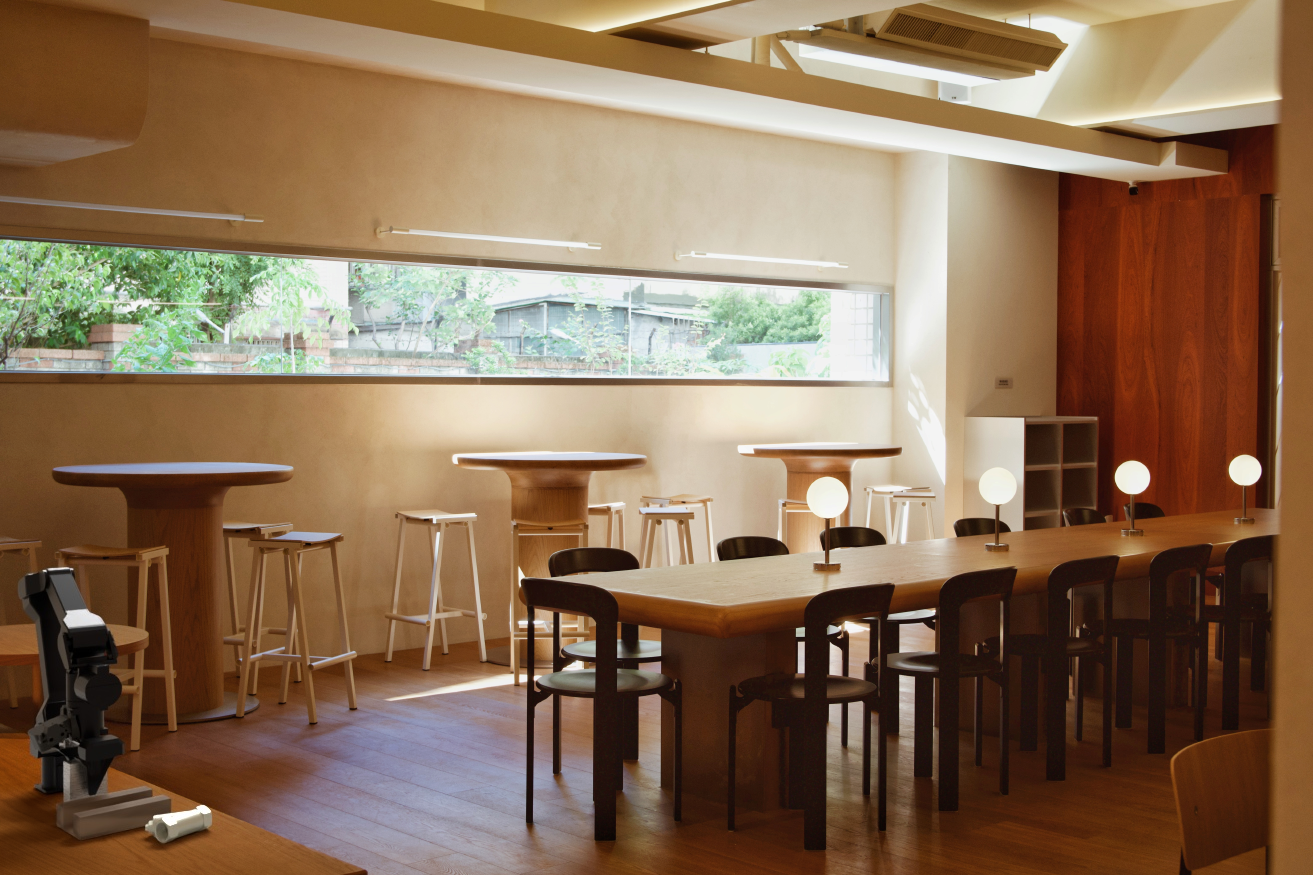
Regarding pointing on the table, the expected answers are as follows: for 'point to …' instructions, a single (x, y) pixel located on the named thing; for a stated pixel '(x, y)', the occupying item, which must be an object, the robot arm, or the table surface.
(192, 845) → the table surface
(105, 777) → the brushed metal bar
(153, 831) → the pipe fitting
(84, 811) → the grey u-channel
